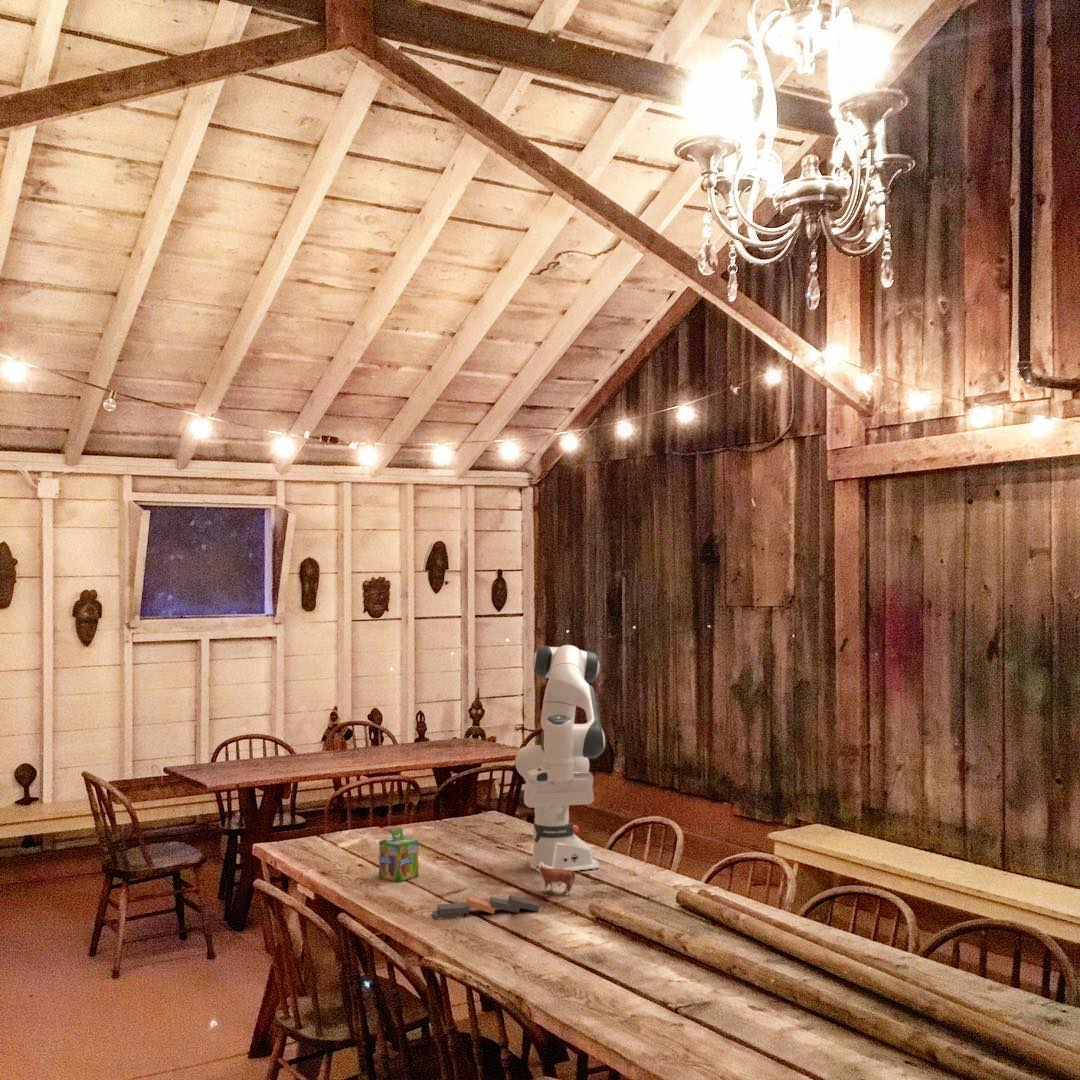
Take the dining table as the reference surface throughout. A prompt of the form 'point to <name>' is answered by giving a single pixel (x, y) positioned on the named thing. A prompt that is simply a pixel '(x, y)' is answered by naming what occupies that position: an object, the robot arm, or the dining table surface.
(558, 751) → the robot arm
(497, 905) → the domino
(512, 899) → the domino
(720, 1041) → the dining table surface
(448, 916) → the domino
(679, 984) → the dining table surface
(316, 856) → the dining table surface
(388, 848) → the chalk box
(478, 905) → the domino
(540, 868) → the bull figurine
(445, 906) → the domino
